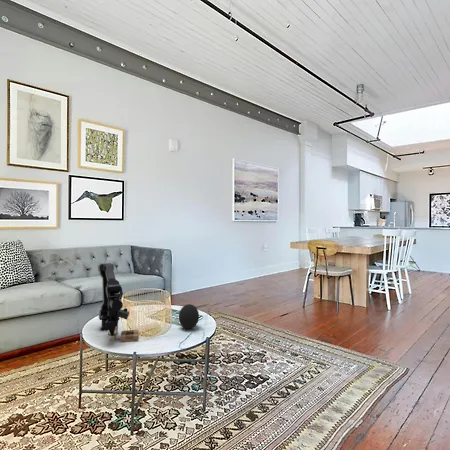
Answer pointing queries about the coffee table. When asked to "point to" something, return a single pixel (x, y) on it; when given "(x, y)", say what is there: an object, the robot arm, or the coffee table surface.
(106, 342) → the coffee table surface
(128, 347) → the coffee table surface
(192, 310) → the decorative egg
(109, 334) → the peg
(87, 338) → the coffee table surface
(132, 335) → the brown square frame
